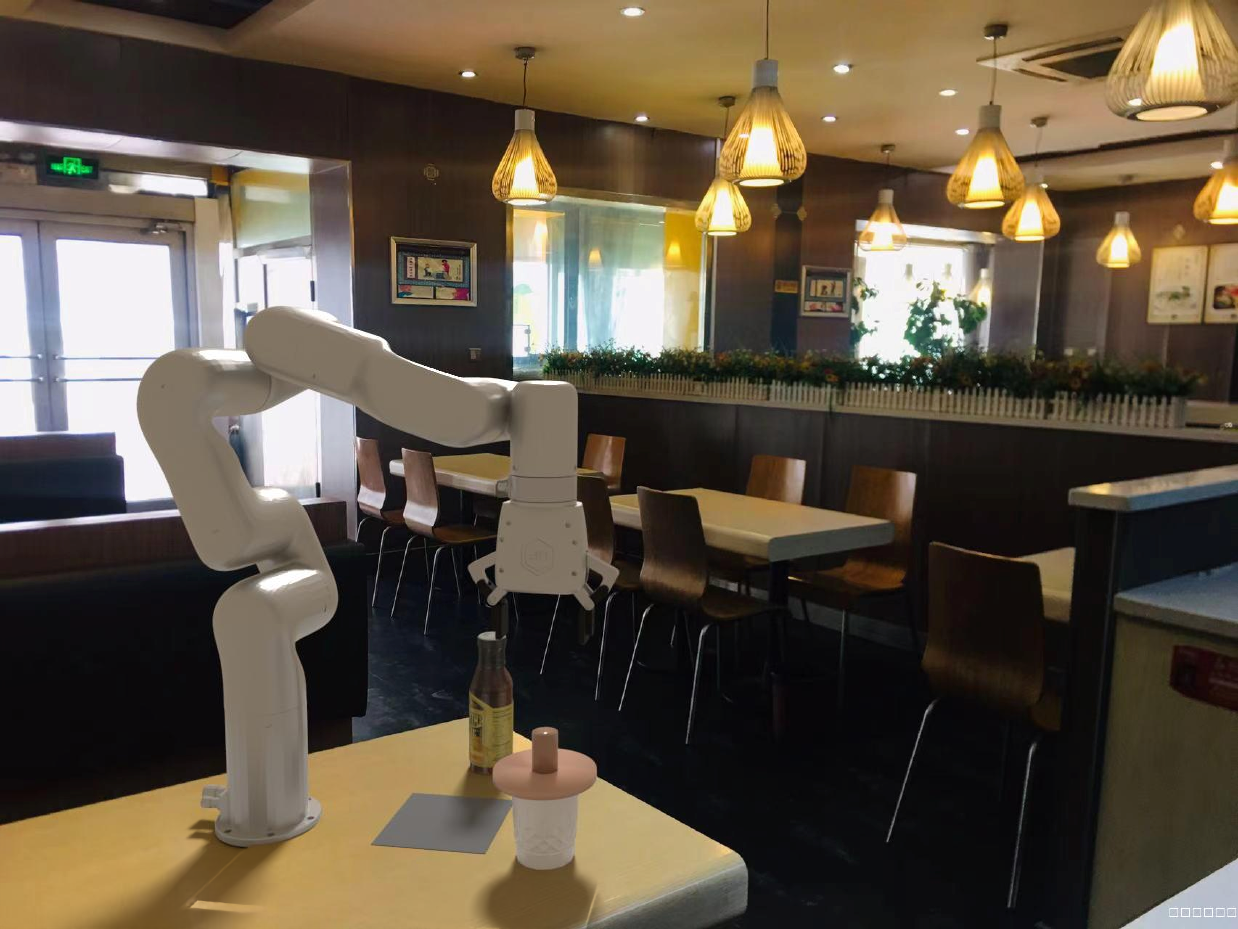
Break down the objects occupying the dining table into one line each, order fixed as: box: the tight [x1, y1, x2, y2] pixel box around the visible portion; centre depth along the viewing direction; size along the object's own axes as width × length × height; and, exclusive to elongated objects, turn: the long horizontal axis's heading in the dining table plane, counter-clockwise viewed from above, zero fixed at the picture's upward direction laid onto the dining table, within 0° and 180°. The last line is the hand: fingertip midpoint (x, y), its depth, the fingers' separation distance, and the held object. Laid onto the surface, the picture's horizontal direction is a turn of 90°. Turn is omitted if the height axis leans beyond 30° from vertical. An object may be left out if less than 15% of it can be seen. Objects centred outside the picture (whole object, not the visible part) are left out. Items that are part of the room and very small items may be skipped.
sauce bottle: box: [468, 631, 514, 776], centre depth 134 cm, size 7×6×20 cm
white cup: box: [511, 794, 580, 871], centre depth 110 cm, size 8×8×10 cm
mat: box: [370, 792, 513, 855], centre depth 118 cm, size 14×14×1 cm
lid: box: [492, 726, 598, 800], centre depth 109 cm, size 12×12×5 cm
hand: (542, 638), depth 108 cm, fingers open, 9 cm apart
